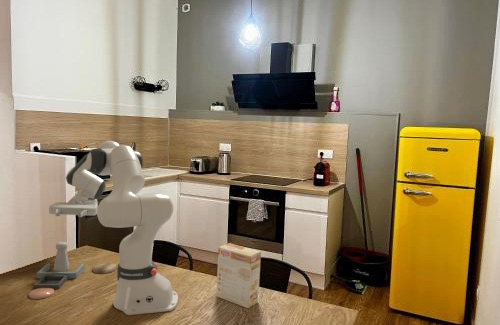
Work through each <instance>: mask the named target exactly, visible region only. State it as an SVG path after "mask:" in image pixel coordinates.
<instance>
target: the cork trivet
mask: <svg viewBox="0 0 500 325" xmlns="http://www.w3.org/2000/svg"><path fill="white" fill-rule="evenodd" d="M117 267H118V264H116V263H112V262H106V263H105V262H103V263H99V264H96V265H94V266H93V267H92V269H91V270H92V272H93V273H94V274H103V275H104V274H105V275H106V274H110V273H113V272H114V273H115V271H116V272H117Z"/></svg>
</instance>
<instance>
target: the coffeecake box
mask: <svg viewBox="0 0 500 325" xmlns="http://www.w3.org/2000/svg"><path fill="white" fill-rule="evenodd" d="M217 252H218V253H217V256H218V257H217V274H216V292H215V294H216V295H215V296H216V297H217V298H220V299H223V300H225V301H227V302H231V303H233V304H236V305H238V306H240V307H242V308H243V307H244V308H246V309H249V308H251V307H252V306H255V305H257V303H259V294H260V293H259V292H260V291H259V290H260V278H261V277H260V276H261V275H260V273H261V257H262V252H261V251H260V250H256V249H252V248H249V247H245V246H241V245H237V244H234V243H231V242H229V243H227V244H226V243H225V244H223V245H221V246H218V251H217Z"/></svg>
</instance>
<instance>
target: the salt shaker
mask: <svg viewBox="0 0 500 325" xmlns="http://www.w3.org/2000/svg"><path fill="white" fill-rule="evenodd" d="M68 246H69V245H68V242H67V241H60V242H57V243H56V244H55V249H56V250H57V251H56V255H55V261H54V265H53V272H69V269H70V263H69V257H68V253H67V252H68V251H67V249H68V248H69V247H68Z"/></svg>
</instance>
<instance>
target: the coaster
mask: <svg viewBox="0 0 500 325" xmlns="http://www.w3.org/2000/svg"><path fill="white" fill-rule="evenodd" d="M54 293H55V289H52V288H38V289H33V290H31V291H29V293H28V298H30V299H31V300H42V299H46V298H50V297H51V296H52V295H54Z"/></svg>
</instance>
